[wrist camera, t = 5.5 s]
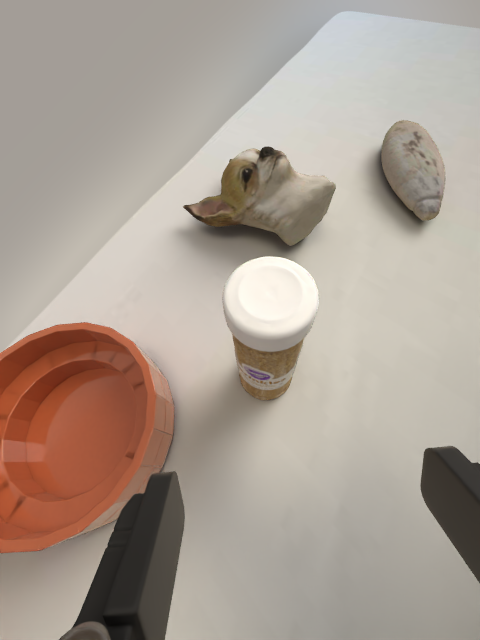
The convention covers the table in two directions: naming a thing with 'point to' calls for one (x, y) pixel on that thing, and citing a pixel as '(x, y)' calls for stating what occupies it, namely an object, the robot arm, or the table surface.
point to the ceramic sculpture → (267, 196)
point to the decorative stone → (414, 168)
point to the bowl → (76, 432)
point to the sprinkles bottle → (269, 321)
